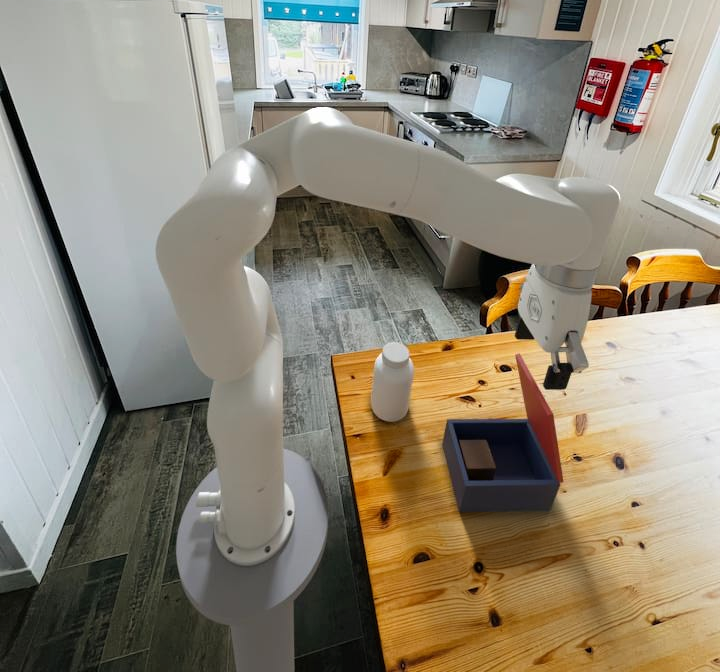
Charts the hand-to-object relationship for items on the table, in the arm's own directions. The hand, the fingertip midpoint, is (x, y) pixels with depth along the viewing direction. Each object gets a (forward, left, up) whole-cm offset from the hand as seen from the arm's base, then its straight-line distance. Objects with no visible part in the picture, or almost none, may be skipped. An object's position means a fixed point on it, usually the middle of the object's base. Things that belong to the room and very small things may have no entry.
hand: (538, 361), depth 61 cm
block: (-6, 0, -26) cm, 27 cm away
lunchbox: (-2, 0, -27) cm, 27 cm away
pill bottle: (-19, +14, -27) cm, 36 cm away
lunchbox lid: (+2, 0, -12) cm, 12 cm away
